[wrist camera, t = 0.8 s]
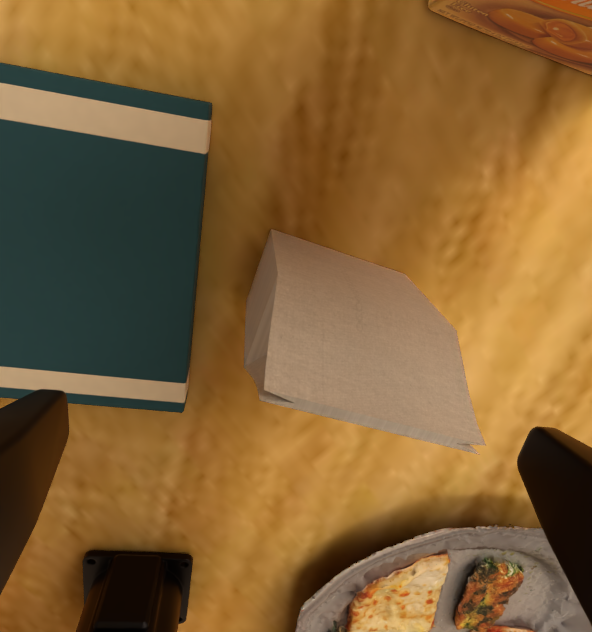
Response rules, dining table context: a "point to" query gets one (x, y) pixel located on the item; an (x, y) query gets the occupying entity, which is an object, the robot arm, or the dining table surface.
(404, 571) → the food plate
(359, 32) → the dining table surface
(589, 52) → the candy box
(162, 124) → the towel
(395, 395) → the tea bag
